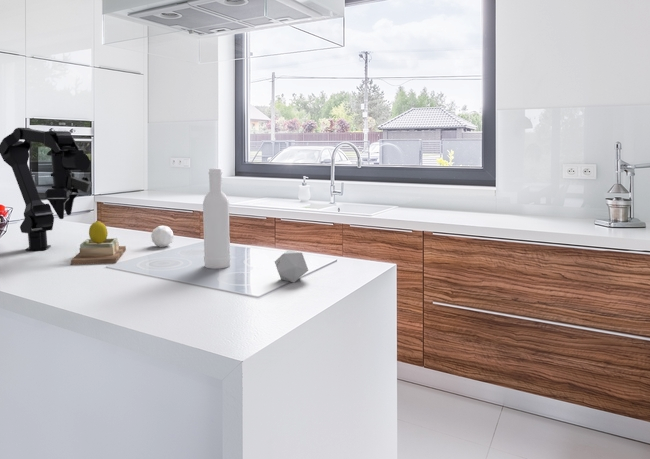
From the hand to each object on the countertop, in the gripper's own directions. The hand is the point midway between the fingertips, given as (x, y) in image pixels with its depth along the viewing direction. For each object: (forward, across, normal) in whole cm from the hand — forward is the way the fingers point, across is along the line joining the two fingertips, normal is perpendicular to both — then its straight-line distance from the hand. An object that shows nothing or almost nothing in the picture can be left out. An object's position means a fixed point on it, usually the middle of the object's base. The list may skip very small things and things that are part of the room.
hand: (65, 216), depth 173 cm
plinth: (+12, -7, -12) cm, 18 cm away
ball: (+13, +8, -30) cm, 34 cm away
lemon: (+9, -7, -11) cm, 16 cm away
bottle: (+13, -26, -49) cm, 57 cm away
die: (+13, -46, -69) cm, 84 cm away
